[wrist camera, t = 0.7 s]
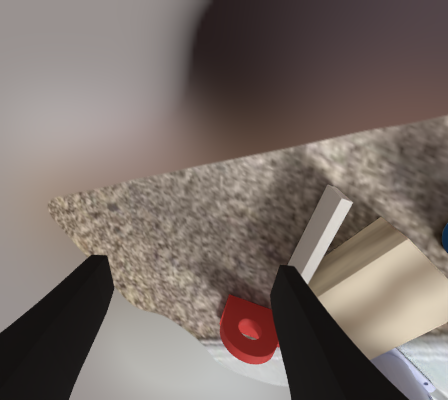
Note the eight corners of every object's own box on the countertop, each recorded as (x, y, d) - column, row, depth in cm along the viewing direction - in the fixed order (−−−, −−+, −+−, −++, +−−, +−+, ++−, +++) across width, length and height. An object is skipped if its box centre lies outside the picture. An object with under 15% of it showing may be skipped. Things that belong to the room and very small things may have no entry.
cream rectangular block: (435, 273, 26) (475, 308, 21) (336, 329, 30) (349, 370, 25) (380, 216, 25) (408, 238, 20) (287, 282, 30) (291, 314, 25)
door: (336, 187, 25) (353, 202, 20) (288, 281, 30) (291, 313, 24) (327, 184, 25) (341, 198, 20) (280, 278, 30) (282, 310, 24)
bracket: (221, 318, 34) (206, 371, 26) (229, 293, 32) (216, 342, 25) (303, 349, 32) (312, 414, 25) (315, 325, 31) (329, 386, 24)
